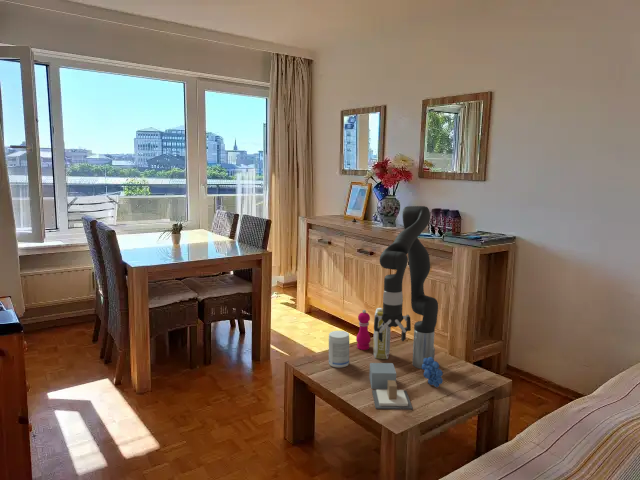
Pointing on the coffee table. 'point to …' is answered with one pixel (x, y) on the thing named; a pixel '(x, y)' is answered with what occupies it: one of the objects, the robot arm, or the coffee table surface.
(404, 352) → the coffee table surface
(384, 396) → the lid
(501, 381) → the coffee table surface
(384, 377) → the storage box
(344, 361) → the supplement tub
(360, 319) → the pepper mill
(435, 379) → the grapes
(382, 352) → the juice carton
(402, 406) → the rubber mat
